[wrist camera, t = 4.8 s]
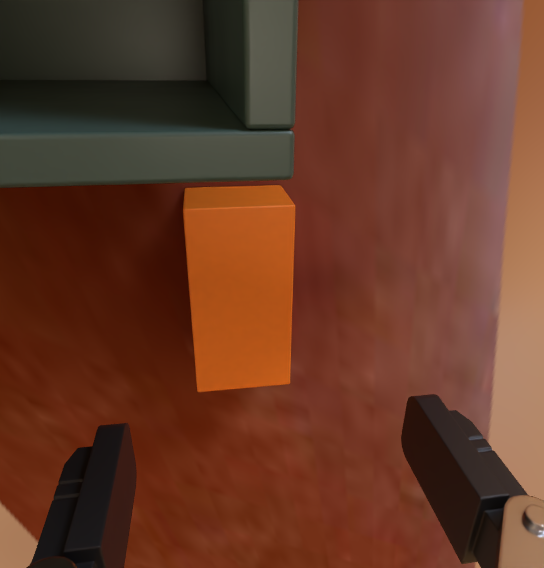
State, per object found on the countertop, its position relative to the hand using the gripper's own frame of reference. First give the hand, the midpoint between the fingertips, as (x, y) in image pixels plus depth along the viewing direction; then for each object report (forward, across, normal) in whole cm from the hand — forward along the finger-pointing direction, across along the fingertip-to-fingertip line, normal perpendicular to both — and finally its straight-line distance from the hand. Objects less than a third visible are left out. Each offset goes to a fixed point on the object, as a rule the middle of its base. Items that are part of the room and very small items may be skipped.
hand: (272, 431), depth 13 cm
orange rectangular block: (+11, 0, 0) cm, 11 cm away
